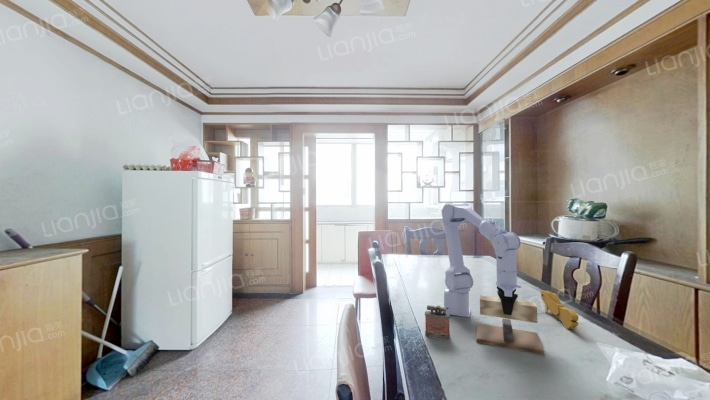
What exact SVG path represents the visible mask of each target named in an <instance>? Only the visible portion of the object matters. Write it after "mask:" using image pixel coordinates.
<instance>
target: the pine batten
mask: <svg viewBox="0 0 710 400" xmlns="http://www.w3.org/2000/svg"><path fill="white" fill-rule="evenodd" d="M479 315H480V316H489V317H494V318H495V317H496V318H499V319H500V318H503V319H510V320H515V321H519V322H520V321H521V322H525V323H526V322H527V323H532V324H533V323H534V324H538V306H537V304H536V301H535V302H533V301H528V300H520V299H516V301H515V303H514V306H513V311H512V315H506V314H504V313H503V308H502V303H501V300H500V298H499V297H495V296H487V295H480V296H479Z"/></svg>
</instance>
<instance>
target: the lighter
mask: <svg viewBox="0 0 710 400" xmlns="http://www.w3.org/2000/svg"><path fill="white" fill-rule="evenodd" d="M424 316H425V317H424V318H425V330H424V335H425V337H428V338H433V339H439V340H450V339H451V334H450V319H451V314H447V313H446V308H444V306H443V307H441V305H436V306H435V305H427V306H426V311H425V312H424Z"/></svg>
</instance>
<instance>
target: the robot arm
mask: <svg viewBox="0 0 710 400" xmlns="http://www.w3.org/2000/svg"><path fill="white" fill-rule="evenodd" d="M441 217H442V224H443V226H444V235H445V239H446V240H445V241H446V247H447V248H446V249H447V253H448V260H449V267H448V268H447V269H446V270H445V278H444V283H445V287H446V288H445V289H444V293H443V308H446V313H447V314H449V315H450V316H451V315H452V316H456V317H464V318H470V317H471V308H470V292H471V288H473V287H474V279H473V278H474V277H472V274H471V269H469V268H468V267H467V266H465V262H464V256H463V251H462V245H461V238H460V231H459V226H460V225H461V224H463V222H465V221H466V220H467V221H468V222H469V223H471V224H473V225H474V226H475V227H476V228H478V231H479V233H480V234H481V235H482V236H483V237H485V238H486V239H487V240H488V241H490V242H491V245H492V248H493V249H494V254H495V258H496V282H495V284H496V285H495V286H496V290H497V295H498V298H500V300H501V303H502V308H503V313H504V314H506V315H512V311H513V306H514V303H515V301H516V300H518V297H519V295H518V293H516V291H517V289H519V288H520V289H521V288H522V285H521V284H520V283H518V279H517V277H518V276H517V275H518V274H517V268H518V267H517V250H518V249H520V246H521V238H520V237H519V236H518V235H517V233H515V232H513V231H511V232H509V231H507V229H505V228H503V227H501V226H500V225H498V224H496V223H497V222H496V221H495V220H490V219H487V220H485V218H483V217H482V216H481V215H480V214H478V213H477V212H476V211H475V210H474V209H473V206H471V205H470V204H469V203H467V202H464V203H463V202H462V203H445V204H444V205H443V207H442V208H441Z"/></svg>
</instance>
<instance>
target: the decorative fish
mask: <svg viewBox="0 0 710 400" xmlns="http://www.w3.org/2000/svg"><path fill="white" fill-rule="evenodd" d="M540 297H541V300H542V302H543V303H544V307H545V314H547V313H549V312H550V313H551V314H552V315H553V316H555V317H556V318H557V319H560V320H561V323H562V324H563V326H564V328H565V329H566V330H574V329H576V328H577V327H578V326H579V324H580V323H579V322H578V321H579V315H578V313H577V312H576V311H575V310H574V309H570V308H567V307H565V305H564V304H563V303H562V302H561V300H560V298H559V297H558V295H557V293H556V292H551V291H549V290H541V291H540Z"/></svg>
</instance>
